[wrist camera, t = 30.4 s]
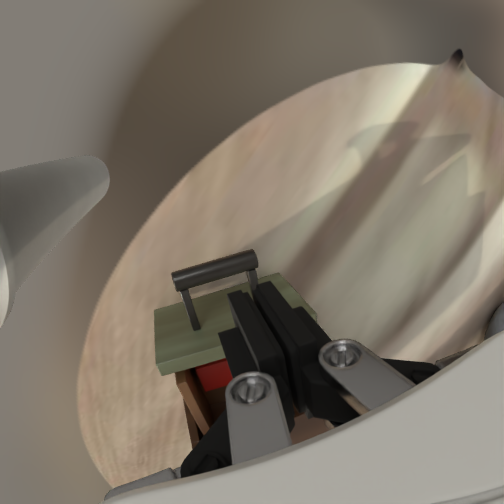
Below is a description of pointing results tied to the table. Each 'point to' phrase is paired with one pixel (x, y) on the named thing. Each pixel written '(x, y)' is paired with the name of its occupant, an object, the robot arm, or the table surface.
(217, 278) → the drawer
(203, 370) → the red rectangular block
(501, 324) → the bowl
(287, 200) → the table surface
